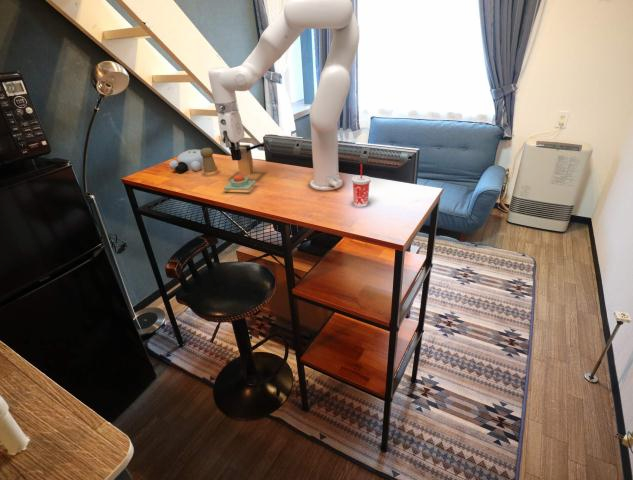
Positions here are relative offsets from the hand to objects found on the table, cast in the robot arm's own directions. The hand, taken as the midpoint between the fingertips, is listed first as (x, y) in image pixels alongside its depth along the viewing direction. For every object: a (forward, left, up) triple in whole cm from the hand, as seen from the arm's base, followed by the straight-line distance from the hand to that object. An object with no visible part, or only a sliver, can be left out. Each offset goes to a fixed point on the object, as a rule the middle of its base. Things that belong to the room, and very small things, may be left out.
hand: (237, 159), depth 127 cm
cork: (+27, +3, -12) cm, 30 cm away
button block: (0, 0, -12) cm, 12 cm away
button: (0, 0, -8) cm, 8 cm away
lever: (+9, -11, -1) cm, 14 cm away
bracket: (+12, -8, -12) cm, 19 cm away
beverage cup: (-40, -27, -12) cm, 49 cm away
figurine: (+38, +8, -12) cm, 41 cm away
